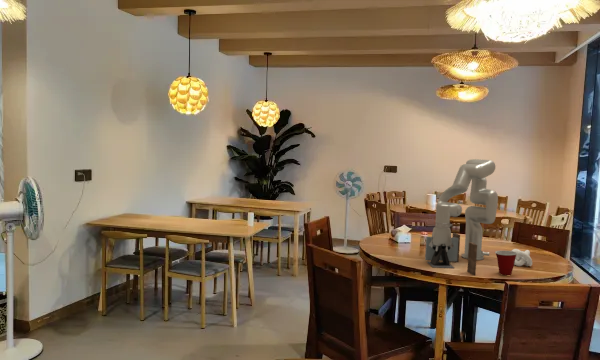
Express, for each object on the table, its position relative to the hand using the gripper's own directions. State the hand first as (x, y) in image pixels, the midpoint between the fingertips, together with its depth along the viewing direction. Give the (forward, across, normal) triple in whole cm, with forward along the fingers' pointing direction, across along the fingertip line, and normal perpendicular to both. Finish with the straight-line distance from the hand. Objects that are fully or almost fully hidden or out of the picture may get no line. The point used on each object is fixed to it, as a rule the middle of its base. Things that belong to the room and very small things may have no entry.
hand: (440, 257), depth 247 cm
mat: (+4, 0, 0) cm, 4 cm away
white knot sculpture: (+5, -49, -8) cm, 50 cm away
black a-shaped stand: (+4, 0, 0) cm, 4 cm away
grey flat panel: (+3, -2, -7) cm, 8 cm away
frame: (+4, -12, +1) cm, 13 cm away
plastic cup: (+4, -30, +14) cm, 33 cm away
